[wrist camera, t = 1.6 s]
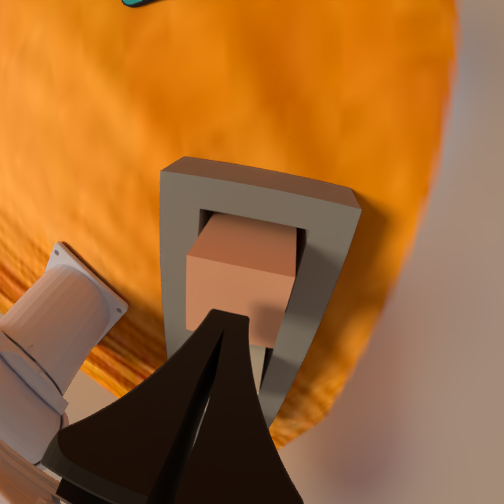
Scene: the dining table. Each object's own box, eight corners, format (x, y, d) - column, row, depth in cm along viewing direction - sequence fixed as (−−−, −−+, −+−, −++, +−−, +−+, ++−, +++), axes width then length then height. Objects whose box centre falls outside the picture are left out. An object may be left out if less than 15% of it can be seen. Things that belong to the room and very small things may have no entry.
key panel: (267, 413, 27) (264, 437, 24) (183, 394, 27) (175, 417, 25) (350, 188, 14) (362, 209, 12) (184, 156, 15) (160, 170, 12)
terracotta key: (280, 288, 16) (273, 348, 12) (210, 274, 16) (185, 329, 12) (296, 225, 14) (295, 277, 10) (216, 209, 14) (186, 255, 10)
